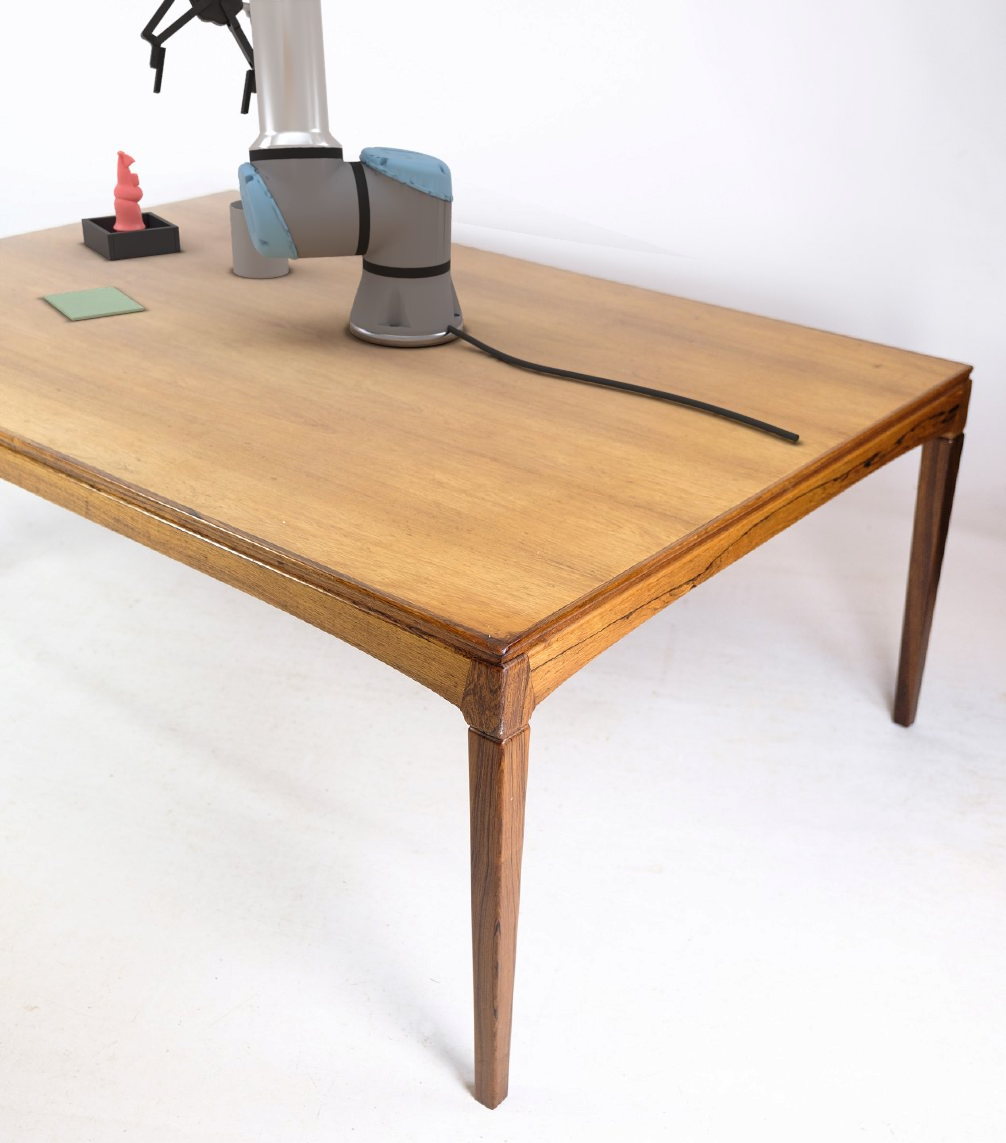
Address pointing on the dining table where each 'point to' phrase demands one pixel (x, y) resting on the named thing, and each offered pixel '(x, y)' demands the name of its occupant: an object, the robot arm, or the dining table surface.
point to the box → (131, 237)
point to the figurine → (127, 196)
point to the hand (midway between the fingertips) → (201, 103)
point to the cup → (250, 250)
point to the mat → (93, 303)
